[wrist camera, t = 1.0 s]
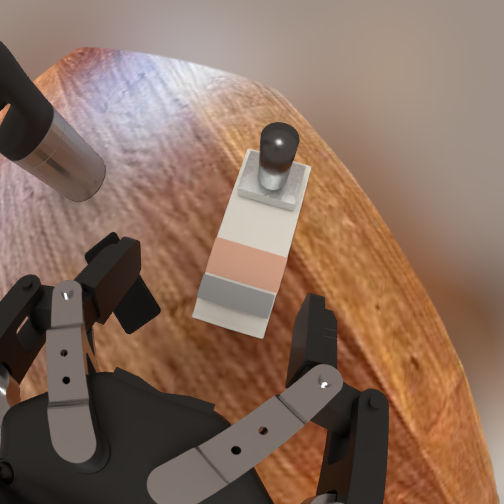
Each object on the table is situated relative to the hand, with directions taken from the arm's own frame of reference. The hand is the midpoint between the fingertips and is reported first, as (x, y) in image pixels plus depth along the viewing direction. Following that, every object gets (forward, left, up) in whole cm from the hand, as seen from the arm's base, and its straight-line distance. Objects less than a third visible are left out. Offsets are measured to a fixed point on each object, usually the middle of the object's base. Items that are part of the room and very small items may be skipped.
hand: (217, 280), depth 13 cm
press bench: (-4, +7, -28) cm, 29 cm away
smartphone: (-12, -13, -29) cm, 34 cm away
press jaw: (-9, +13, -26) cm, 30 cm away
